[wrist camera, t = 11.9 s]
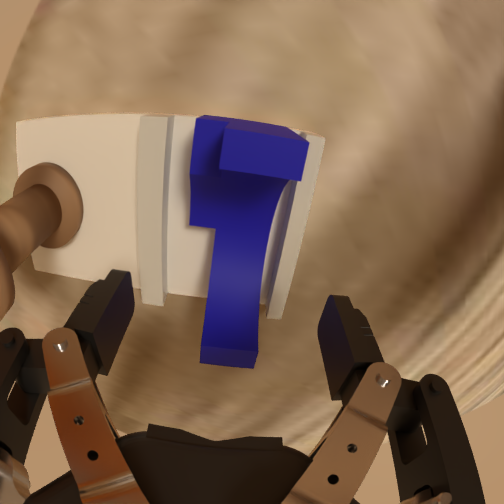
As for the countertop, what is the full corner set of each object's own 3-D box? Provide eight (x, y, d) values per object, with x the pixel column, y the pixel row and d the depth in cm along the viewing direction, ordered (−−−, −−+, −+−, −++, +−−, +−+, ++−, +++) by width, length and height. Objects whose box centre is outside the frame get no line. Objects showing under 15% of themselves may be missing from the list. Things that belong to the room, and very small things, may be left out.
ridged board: (314, 132, 16) (325, 138, 14) (277, 295, 22) (280, 319, 20) (26, 119, 14) (2, 125, 12) (41, 262, 20) (25, 280, 18)
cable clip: (204, 114, 14) (182, 123, 9) (286, 127, 15) (309, 142, 10) (188, 294, 20) (172, 359, 15) (251, 302, 21) (253, 368, 15)
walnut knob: (81, 162, 15) (-18, 222, 7) (87, 246, 18) (20, 334, 10) (17, 162, 15) (-74, 215, 7) (27, 237, 18) (-42, 308, 10)
